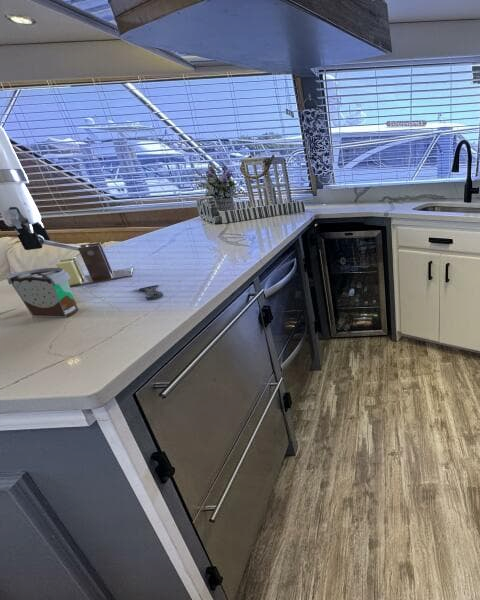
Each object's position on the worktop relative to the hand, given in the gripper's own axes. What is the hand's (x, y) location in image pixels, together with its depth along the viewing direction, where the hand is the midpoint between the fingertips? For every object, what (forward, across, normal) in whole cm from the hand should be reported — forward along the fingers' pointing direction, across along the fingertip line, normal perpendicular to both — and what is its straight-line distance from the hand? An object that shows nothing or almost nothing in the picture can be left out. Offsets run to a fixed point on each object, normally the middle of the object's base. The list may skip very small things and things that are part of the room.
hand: (39, 245), depth 86 cm
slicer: (+12, 0, +10) cm, 16 cm away
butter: (+11, 0, +4) cm, 12 cm away
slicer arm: (+2, 0, +4) cm, 5 cm away
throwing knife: (+12, +20, +21) cm, 31 cm away
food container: (+12, +24, +4) cm, 27 cm away
